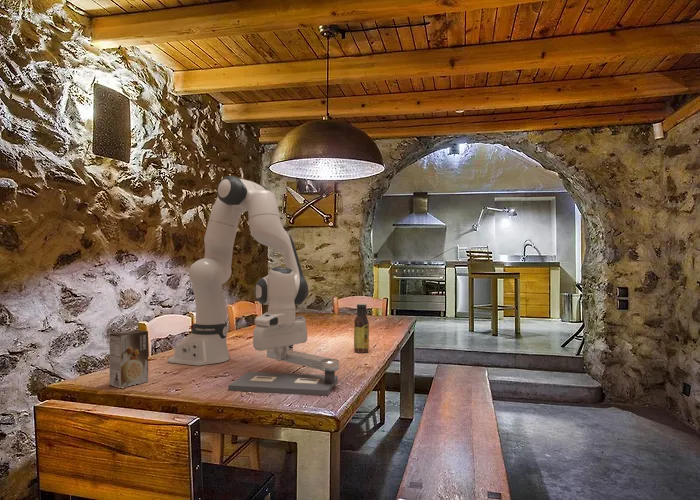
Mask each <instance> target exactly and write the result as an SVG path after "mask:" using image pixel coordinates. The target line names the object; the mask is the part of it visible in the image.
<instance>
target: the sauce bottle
mask: <svg viewBox="0 0 700 500" xmlns="http://www.w3.org/2000/svg"><path fill="white" fill-rule="evenodd" d="M356 310H357V311H356V316H355V318H354V322H353V323H354V325H353V347H354V348H353V351H354V352H355V353H358V354H359V353H360V354H361V353H362V354H363V353H364V354H365V353H368V352H369V347H370V322H369V319H368V317H367V304H366V303H359V304H356Z"/></svg>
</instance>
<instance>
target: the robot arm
mask: <svg viewBox="0 0 700 500" xmlns="http://www.w3.org/2000/svg"><path fill="white" fill-rule="evenodd" d="M216 195H217V197H216V200H215V202H214V203H213V206H212V209H211V211H210V214H209V218H208V221H207V225H206V226H207V227H206V230H205V234H204V237H203V242H204V257H203V258H201V259H198V260H196V261H195V262H193V264H191V265H190V267H189V269H188V279H189V280H190V282H191V285H192V289H193V295H194V299H195V302H194V303H195V322H194V323H193V324H191V325H189V326H188V327H189V328H188V329H189V330H191V331H190V333H189V334H188V335H187V336H186V337H184V338H183V339H182V340H180V341H179V342H178V343H177V344H176V346H175V349H174V355H173V356H170V357H168V359H167V363H169V364H171V363H172V364H180V365H189V366H190V365H191V366H196V367H197V366H199V367H200V366H205V365H206V366H207V365H212V364H213V365H214V364H218V363H224V362H227V361H229V360H230V359H231V358H230V353H229V350H228V342H227V337H228V323H227V302H226V300H225V296H224V291H223V285H224V284H225V283H227V282H228V281H229V280H230V278H231V276H232V273H233V271H232V264H233V263H232V262H233V253H234V252H233V250H234V244H235V240H236V236H237V232H238V227H239V224H240V218H241V216H242V215H243V214H244V213H245V212H246V213H247V214H248V227H249V232H250V235H251V237H252V238H253V239H254V240H255V241H256V242H257V243H259V244H261V245H264V246H265V247H268V248H271V249H273V250H275V251H277V252H278V253H280V254H281V256H282V258H283V261H284V265H285V267H284V266H275V267H272V268H270V270H269V273H268V274H267V275H266V276H264V277H261V278H259V279H258V281H256V283H255V284H254V285H255V286H254V298H255V300H256V301H257V302H258V303H259V304H261V305H265V306H268V307H267V311H266V312H265V313H262V314H261V315H258V316H257V317H256V318H254V325H255V327H254V329H253V334H252V346H253V348H254V350H256V351H260V352H261V351H267V350H268V349H273V348H274V352H275V353H276V355H277V359H276V361H278V362H283V361H282V360H286V354H287V352H288V350H290V348H289V345H293V346H294V345H299V344H304V343H307V341H308V328H307V319H306V317H305V316H304V315H302V314H298V315H296V305H297V306H299V305H301V304H302V303H304V302H305V300H306V299H307V298H308V296H309V291H310V289H309V284H308V282H307V280H306V278H305V276H304V273H303V268H302V266H301V263H300V259H299V256H298V253H297V249H296V246H295V243H294V240H293V238H292V236H291V234H290V233H288V232H287V231H286V229H285V228H284V226H283V225H282V221H281V217H280V216H281V215H280V208H279V205H278V201H277V199H276V195H275V194H274V193H273V192H272V191H271V190H269V189H268V188H266V186H264V185H260V184H258V183H257V182H254V181H252V180H248V179H244V178H240V177H237V176H234V175H227V176H224V177H223V178H222V179H220V181H219V182H218V185H217V187H216ZM281 348H282V349H283V350H282V353H281V352H280V350H281Z"/></svg>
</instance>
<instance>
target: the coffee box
mask: <svg viewBox="0 0 700 500" xmlns="http://www.w3.org/2000/svg"><path fill="white" fill-rule="evenodd" d="M147 382H149V331H148V330H139V329H132V330H125V331H120V332H113V333H109V386H110V385H112V386H115V387H114V388H116V387H120V388H122V387H126V388H128V387H127V386H130V387H132V386H131V385H134V386H137V385H136V384H138V385H140V384H145V383H147ZM112 386H111V387H112Z"/></svg>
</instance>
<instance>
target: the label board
mask: <svg viewBox="0 0 700 500" xmlns="http://www.w3.org/2000/svg"><path fill="white" fill-rule="evenodd" d="M335 372H336V371H324V374H311V373H310V374H309V373H288V372H287V373H286V372H285V373H284V372H265V371H247V372H246V373H244V374H243V375H241V376H239V378H237V379H236V380H234V381H233V382H231V383H229V384H228V385H227V386H228V387H227V388H228V389H227V390H228V391H230V390H234V391H233V392H236V391H237V392H251V393H253V392H254V393H271V394H285V395H286V394H287V395H289V394H290V395H311V396H326V397H328V396H329V394H330V392H331V391H332V390H333V388H334V387H335V385H336V384H337V383H338V378H339V376H338V375H336V373H335Z"/></svg>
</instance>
